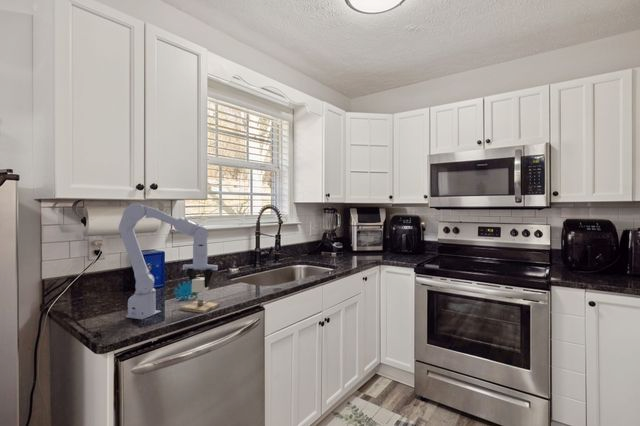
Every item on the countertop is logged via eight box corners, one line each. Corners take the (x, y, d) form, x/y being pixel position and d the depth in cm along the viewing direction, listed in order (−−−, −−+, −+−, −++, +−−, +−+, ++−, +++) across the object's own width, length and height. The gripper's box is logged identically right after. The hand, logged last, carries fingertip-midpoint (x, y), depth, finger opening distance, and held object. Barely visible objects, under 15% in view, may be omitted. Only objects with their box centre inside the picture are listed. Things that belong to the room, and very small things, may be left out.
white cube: (208, 289, 140) (208, 277, 140) (203, 292, 135) (203, 279, 135) (197, 288, 141) (197, 276, 141) (191, 291, 136) (191, 279, 136)
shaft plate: (204, 312, 132) (204, 304, 132) (180, 309, 136) (180, 301, 135) (219, 305, 141) (219, 297, 141) (196, 303, 145) (196, 295, 145)
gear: (169, 297, 148) (179, 278, 155) (173, 303, 152) (182, 285, 159) (193, 301, 147) (201, 282, 154) (195, 307, 152) (204, 288, 159)
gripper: (178, 255, 135) (178, 288, 135) (212, 256, 133) (212, 289, 134) (187, 253, 142) (187, 284, 142) (219, 254, 140) (219, 285, 141)
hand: (200, 286), depth 138 cm, fingers closed on white cube, 5 cm apart
